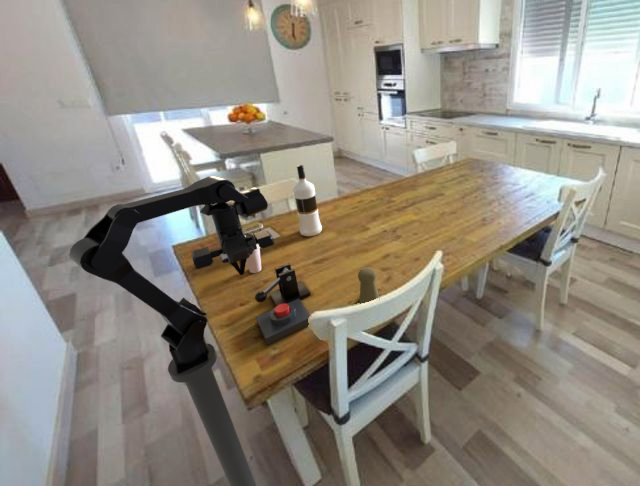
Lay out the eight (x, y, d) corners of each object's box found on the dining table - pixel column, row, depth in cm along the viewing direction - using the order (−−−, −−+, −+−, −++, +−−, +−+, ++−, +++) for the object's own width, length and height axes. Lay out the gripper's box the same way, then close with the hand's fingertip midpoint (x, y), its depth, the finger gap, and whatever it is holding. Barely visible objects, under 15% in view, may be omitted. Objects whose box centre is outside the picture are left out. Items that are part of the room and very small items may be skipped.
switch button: (277, 319, 86) (276, 314, 85) (274, 312, 88) (272, 307, 87) (291, 313, 88) (290, 308, 87) (287, 306, 90) (286, 301, 89)
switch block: (267, 344, 82) (264, 333, 81) (257, 322, 89) (254, 311, 88) (312, 323, 89) (310, 311, 87) (300, 304, 96) (298, 293, 95)
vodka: (299, 238, 134) (286, 169, 122) (301, 228, 142) (289, 163, 130) (322, 235, 136) (311, 167, 124) (322, 226, 144) (312, 161, 132)
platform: (281, 235, 136) (278, 222, 134) (235, 252, 124) (231, 237, 122) (269, 227, 144) (266, 214, 141) (225, 242, 132) (221, 227, 129)
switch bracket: (277, 309, 94) (271, 282, 90) (270, 295, 100) (263, 269, 96) (310, 295, 100) (305, 269, 96) (301, 283, 106) (296, 257, 102)
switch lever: (261, 306, 93) (253, 301, 91) (258, 300, 96) (251, 295, 94) (294, 276, 97) (287, 270, 95) (291, 271, 100) (284, 265, 98)
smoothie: (247, 266, 115) (238, 232, 110) (266, 263, 117) (258, 229, 111) (244, 276, 109) (234, 241, 104) (264, 273, 111) (255, 238, 106)
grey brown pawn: (360, 309, 94) (357, 278, 89) (358, 296, 99) (355, 266, 95) (380, 305, 95) (378, 274, 91) (377, 292, 101) (375, 263, 96)
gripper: (187, 249, 72) (207, 304, 78) (274, 224, 82) (285, 274, 88) (183, 231, 80) (201, 282, 86) (262, 210, 90) (273, 257, 96)
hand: (242, 274), depth 89 cm, fingers closed
